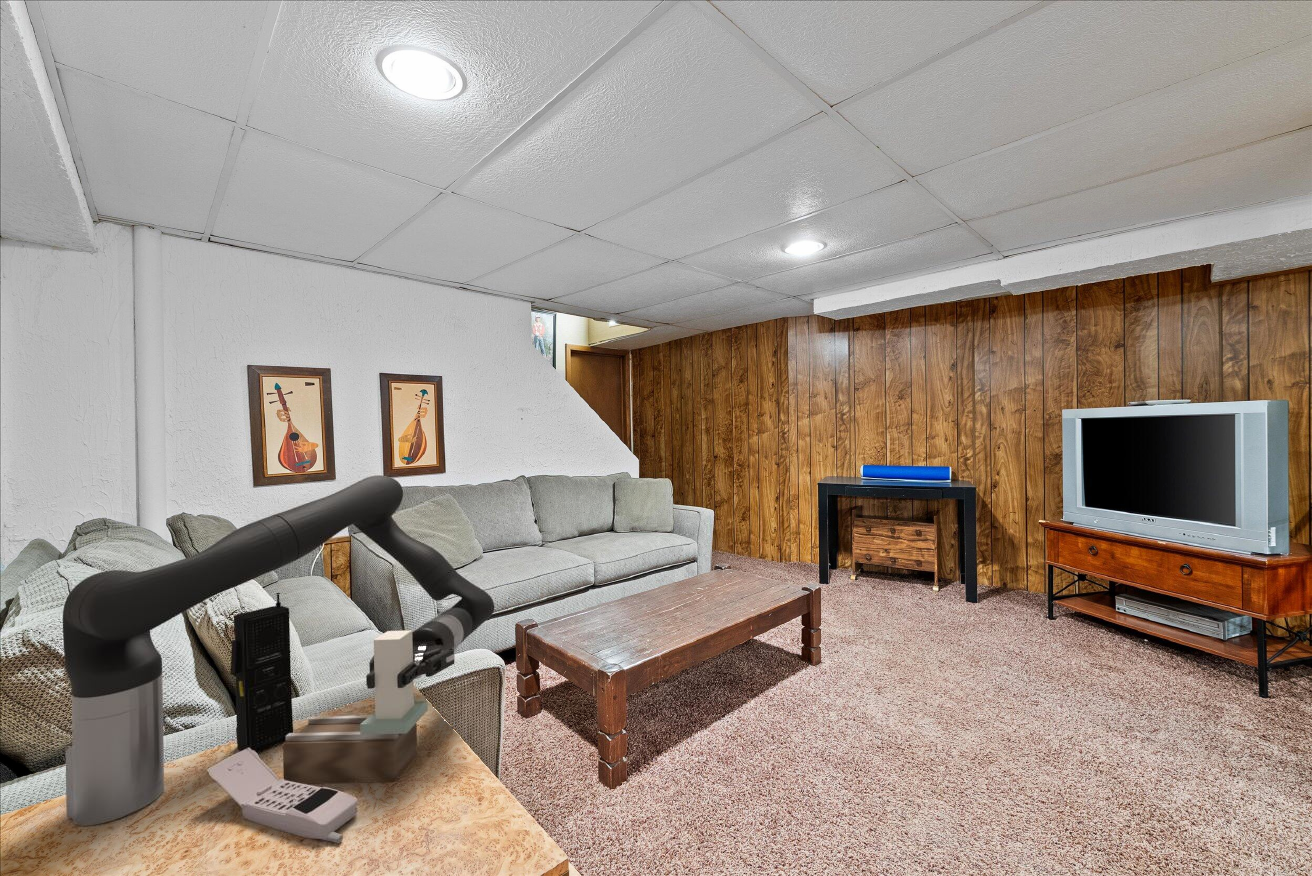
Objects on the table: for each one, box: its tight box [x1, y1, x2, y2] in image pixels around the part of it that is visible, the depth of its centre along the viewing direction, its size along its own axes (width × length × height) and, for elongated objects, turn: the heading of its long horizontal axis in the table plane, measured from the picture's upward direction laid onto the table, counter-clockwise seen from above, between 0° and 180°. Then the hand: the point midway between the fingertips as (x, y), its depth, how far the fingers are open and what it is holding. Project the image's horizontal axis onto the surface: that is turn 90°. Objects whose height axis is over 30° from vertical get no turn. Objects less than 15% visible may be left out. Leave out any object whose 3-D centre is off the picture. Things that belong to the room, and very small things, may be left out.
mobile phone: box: [206, 748, 359, 843], centre depth 73 cm, size 6×6×25 cm
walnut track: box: [282, 714, 418, 784], centre depth 83 cm, size 17×7×7 cm, turn 88°
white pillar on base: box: [360, 629, 429, 734], centre depth 83 cm, size 7×7×14 cm
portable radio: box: [229, 592, 294, 754], centre depth 91 cm, size 8×6×25 cm
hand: (385, 681), depth 80 cm, fingers closed on white pillar on base, 4 cm apart
